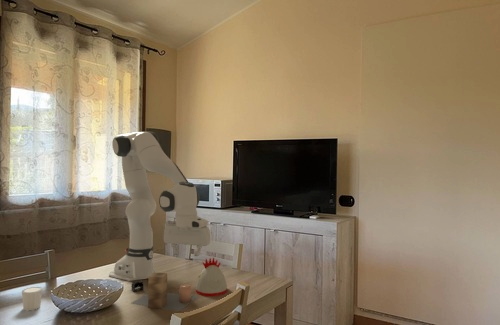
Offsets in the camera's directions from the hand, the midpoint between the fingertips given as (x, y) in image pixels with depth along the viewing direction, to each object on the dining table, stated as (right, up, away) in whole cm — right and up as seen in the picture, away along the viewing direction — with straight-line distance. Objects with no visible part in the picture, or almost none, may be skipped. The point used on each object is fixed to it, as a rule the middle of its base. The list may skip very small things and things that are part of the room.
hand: (186, 255), depth 150 cm
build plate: (-24, -19, +11) cm, 32 cm away
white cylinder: (-58, -18, -10) cm, 61 cm away
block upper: (-10, -12, -6) cm, 17 cm away
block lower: (-11, -18, -6) cm, 22 cm away
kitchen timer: (+9, -20, +12) cm, 25 cm away
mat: (-9, -19, 0) cm, 21 cm away
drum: (-1, -19, -1) cm, 19 cm away
